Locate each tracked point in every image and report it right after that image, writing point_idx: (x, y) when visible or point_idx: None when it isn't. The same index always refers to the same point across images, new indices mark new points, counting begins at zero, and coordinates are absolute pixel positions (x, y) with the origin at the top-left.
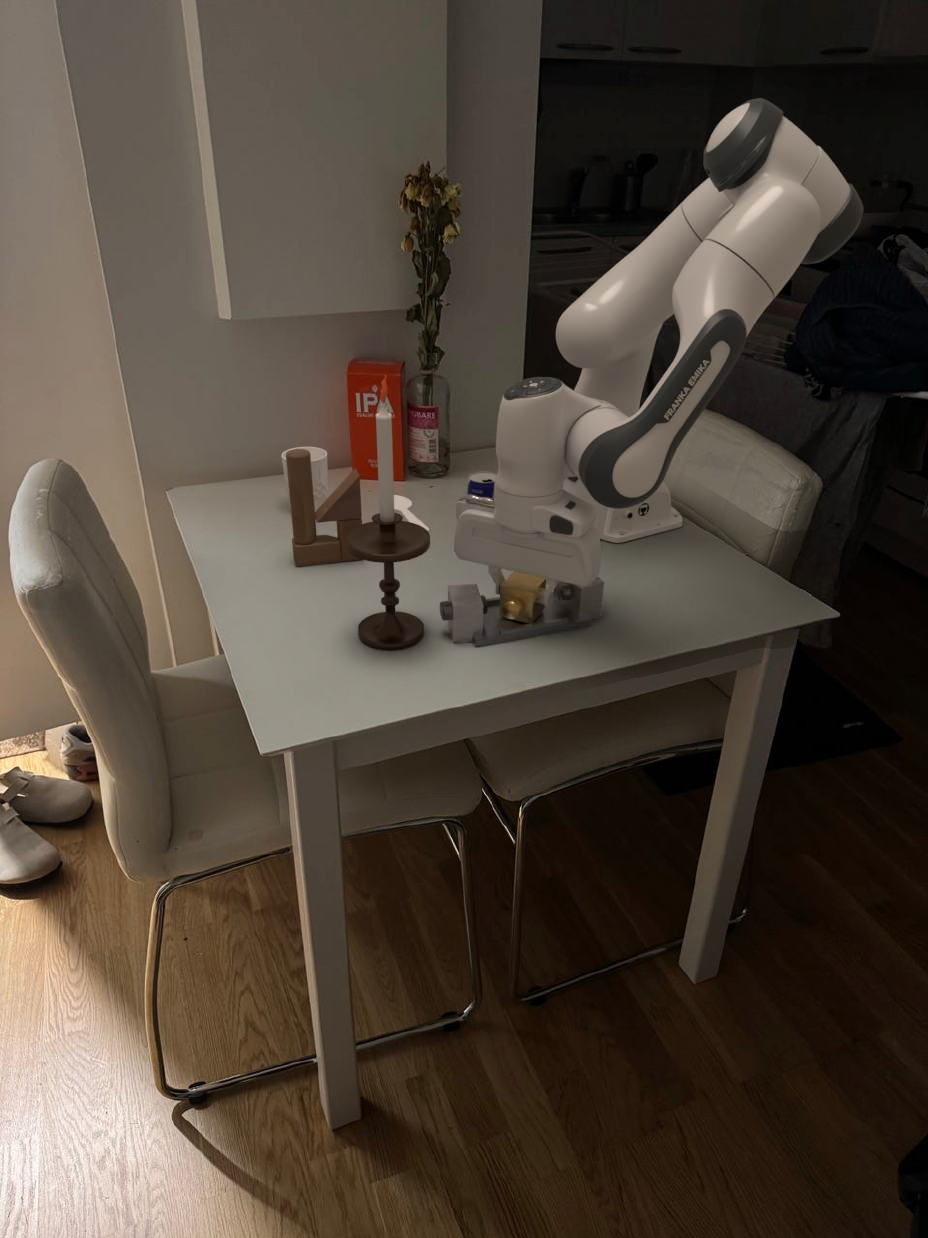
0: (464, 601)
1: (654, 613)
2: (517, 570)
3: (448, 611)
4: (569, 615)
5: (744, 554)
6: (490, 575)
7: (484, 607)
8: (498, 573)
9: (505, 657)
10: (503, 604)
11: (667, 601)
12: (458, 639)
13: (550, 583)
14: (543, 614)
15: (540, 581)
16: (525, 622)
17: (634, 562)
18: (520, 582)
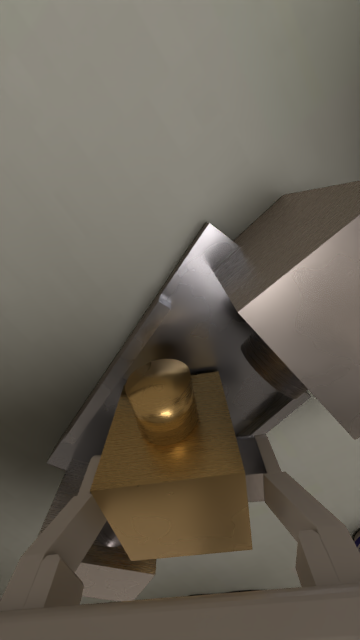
0: (356, 280)
1: (16, 515)
2: (183, 616)
3: None
4: (90, 453)
5: None
6: (322, 505)
7: (253, 347)
8: (296, 525)
9: (99, 229)
10: (213, 403)
11: (31, 541)
12: (272, 208)
13: (38, 568)
14: None
15: (130, 544)
16: None
17: None
18: (186, 516)
